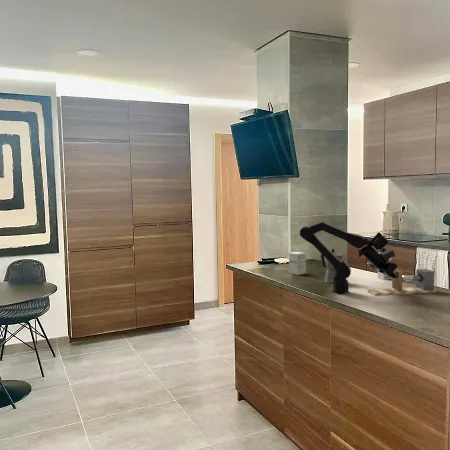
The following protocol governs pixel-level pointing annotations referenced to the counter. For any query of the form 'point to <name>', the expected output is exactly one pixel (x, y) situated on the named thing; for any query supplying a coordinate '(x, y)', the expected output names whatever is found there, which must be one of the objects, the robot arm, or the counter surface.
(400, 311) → the counter surface
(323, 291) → the counter surface
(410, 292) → the birch base plate
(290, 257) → the supplement box
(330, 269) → the coffeepot
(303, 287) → the counter surface
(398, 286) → the wooden block with shaft
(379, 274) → the syrup box
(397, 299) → the counter surface
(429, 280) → the bearing block
